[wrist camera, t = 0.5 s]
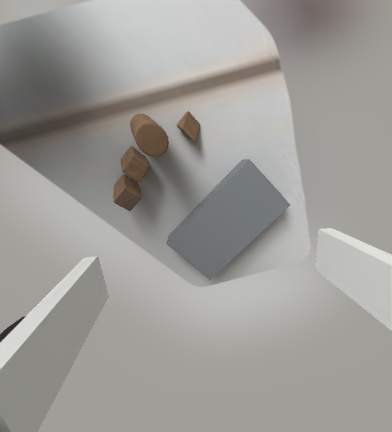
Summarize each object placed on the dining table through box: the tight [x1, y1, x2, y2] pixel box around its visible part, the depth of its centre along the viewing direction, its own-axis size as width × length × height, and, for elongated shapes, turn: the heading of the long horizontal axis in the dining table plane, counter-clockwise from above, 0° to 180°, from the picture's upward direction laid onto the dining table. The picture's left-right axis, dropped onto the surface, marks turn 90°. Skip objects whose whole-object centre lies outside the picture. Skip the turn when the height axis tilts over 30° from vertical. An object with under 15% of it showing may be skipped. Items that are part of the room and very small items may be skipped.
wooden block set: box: [114, 111, 200, 211], centre depth 30 cm, size 18×9×10 cm, turn 138°
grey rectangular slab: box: [167, 159, 290, 280], centre depth 36 cm, size 11×20×4 cm, turn 136°
